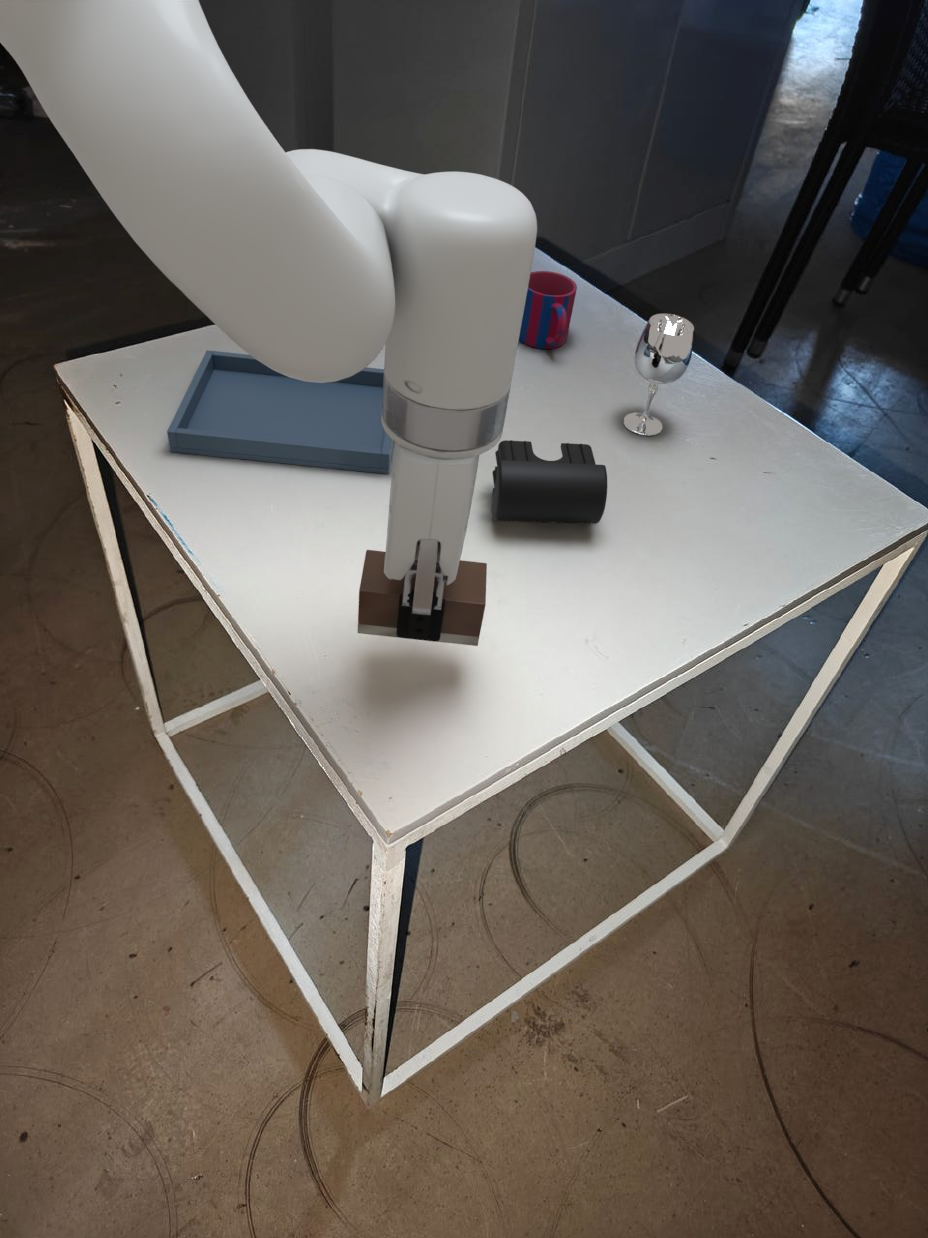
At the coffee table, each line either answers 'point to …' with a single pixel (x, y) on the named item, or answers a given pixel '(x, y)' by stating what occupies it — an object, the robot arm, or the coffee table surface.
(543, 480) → the end cap
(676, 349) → the wineglass
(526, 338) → the mug
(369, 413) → the tray
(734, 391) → the coffee table surface
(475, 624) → the eraser
